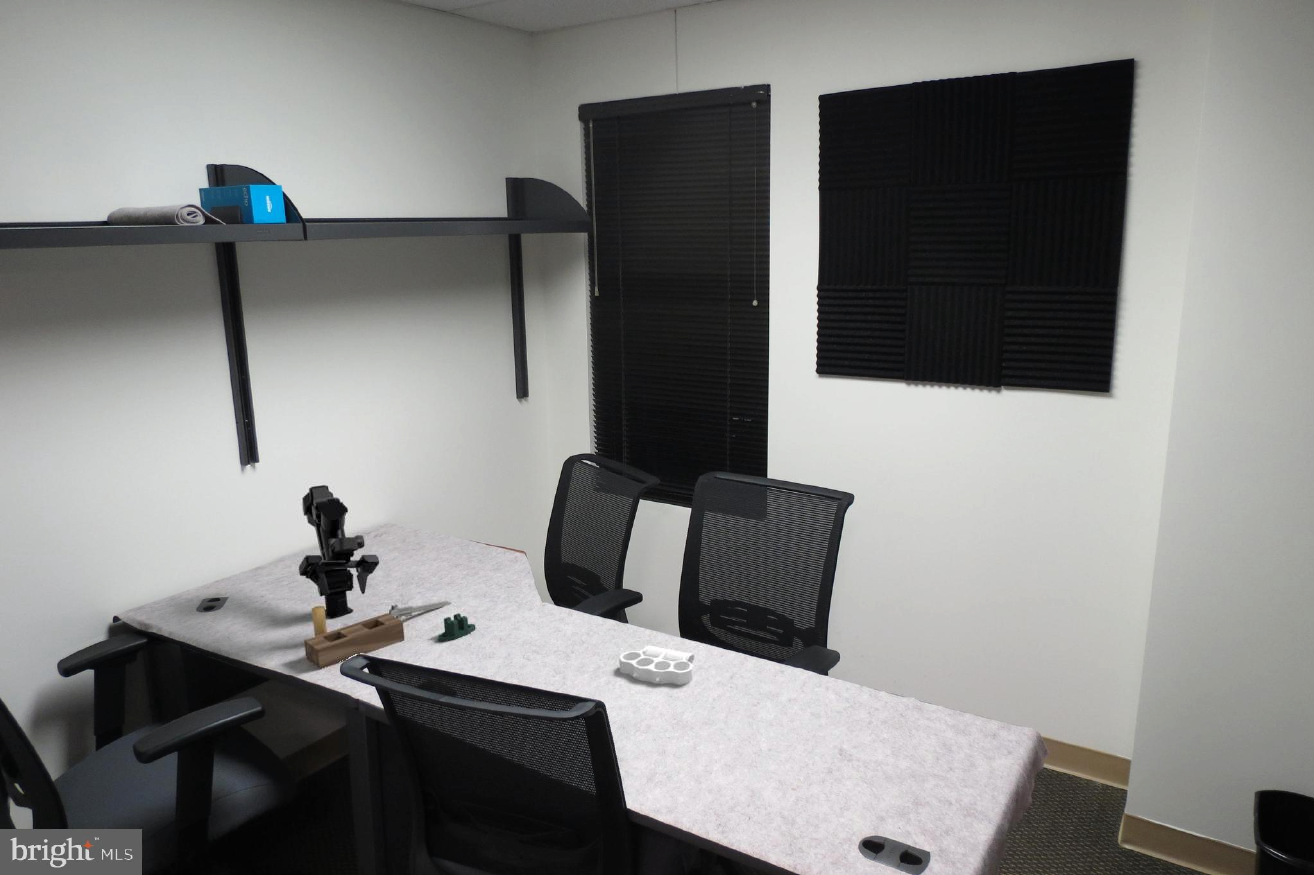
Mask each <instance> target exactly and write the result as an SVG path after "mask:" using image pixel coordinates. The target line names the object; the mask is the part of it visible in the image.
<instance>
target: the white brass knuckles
mask: <svg viewBox="0 0 1314 875" xmlns="http://www.w3.org/2000/svg"><path fill="white" fill-rule="evenodd" d="M618 660H619V661H618V662H619V671H620V673H621V674H625V675H630V676H632V677H633V678H634V679H636V680H639V681H640V682H641V681H644V682H645V681H646V682H650V683H653V684H660V685H663V684H675V685H677V686H680V685H687V684H689V683H690V682H692V681H693V679H694V676H693V675H694V674H693V672H694V671H693V670H694V669H693V667H694V666H693V664H694V660H695V654H694V653H691V652H683V651H679V650H673V649H669V648H668V649H667V648H662V647H658V646H653V645H646V646H645V647H644V648H643V649H642V650H638V651H637V650H633V651H626V652H624V653H622V654H620V656H619V658H618Z"/></svg>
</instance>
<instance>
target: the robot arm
mask: <svg viewBox="0 0 1314 875" xmlns="http://www.w3.org/2000/svg"><path fill="white" fill-rule="evenodd" d="M301 501H302V504H301V505H302V512H303V516H306V519H307V523H308V524H309V525H311V526H312V527H313V528H314V530H315V534H316V538H317V542H318V548H319V552H320V554H312V555H311V554H310V555H309V554H306V555H305V556H304V557H303V559H302V561H301V562H300V564H299V565H298V571H299V576H300V577H305V579H307V580H310V581H311V582H312V583H313V584H315V586H316V587H317V591H318V592H317V593H318V594H319V597H323V596H324V603H325V604H324V605H325V616H327V618H330V619H333V618H338V617H341V616H344V615H348V614H350V613H353V612H354V609H353V608H351V607H350V606H349V604H348V594H347V592H353V589H354V587H355V586H354V573H352V571H351V569H355V571H356V573H357V574H356V578H357V579H356V581H357V582H358V586H359V590H360V593H361V594H362V595H364V594H365V593H366V589H367V582H368V578H369V576H371V575H372V574H373V573H374V572H375V571H376V568H377V567H378V566H379V565H380V560H379V559H380V558H379V557H378V555H376V554H362V555H361V556H360V558H359V559H357V560H356V559H355V560H354V559H353V560H352V559H351V558H353V557H354V556H355V552H356V551H357V552H358V551H359V550H360V549H363V548H364V547H365V538H364V535H363V534H358V535H355V536H349V537H348V536H347V537H346V531H345V524H346V515H347V513H349V509H348V507H347V506H346V505H345V504H344V503H343V501H341V500H340V498H339V497H336V496H335V497H334V493H333V492H332V491H330V489H329V486H328V485H325V484H323V485H314V486H311V487H308V492H307V493H306V494H305V495H304V496H303V497H302V500H301Z"/></svg>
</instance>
